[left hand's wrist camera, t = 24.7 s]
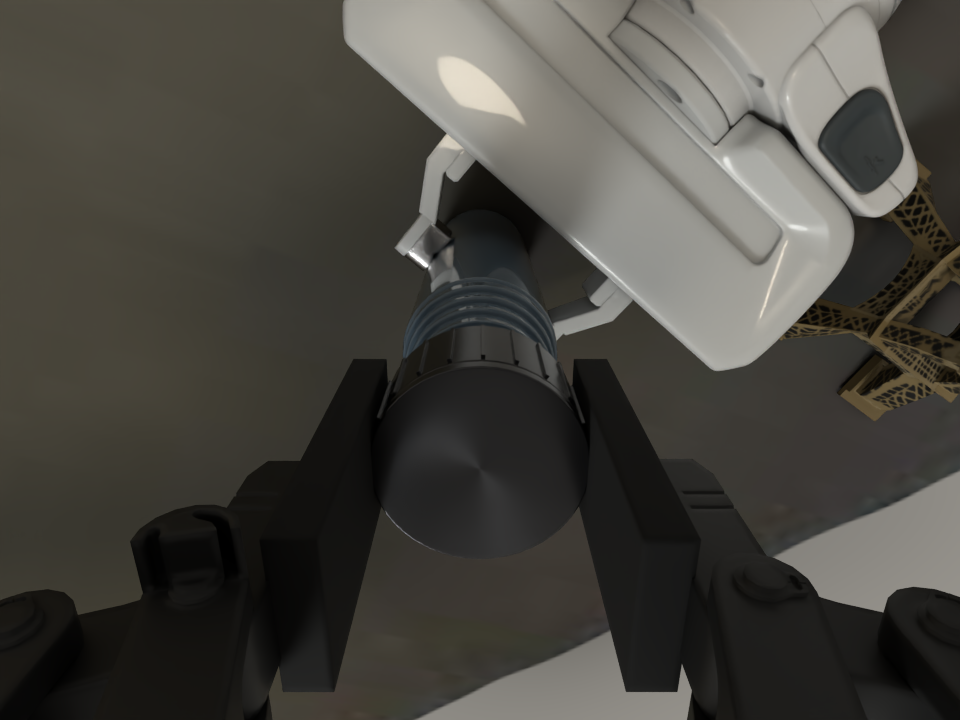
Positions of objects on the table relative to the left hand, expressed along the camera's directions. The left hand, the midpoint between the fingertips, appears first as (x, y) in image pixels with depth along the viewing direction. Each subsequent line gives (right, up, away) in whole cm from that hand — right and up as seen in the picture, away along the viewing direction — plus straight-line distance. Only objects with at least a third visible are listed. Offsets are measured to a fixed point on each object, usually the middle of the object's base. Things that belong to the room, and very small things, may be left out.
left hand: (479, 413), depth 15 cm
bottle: (0, +7, +17) cm, 18 cm away
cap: (0, -1, -2) cm, 2 cm away
